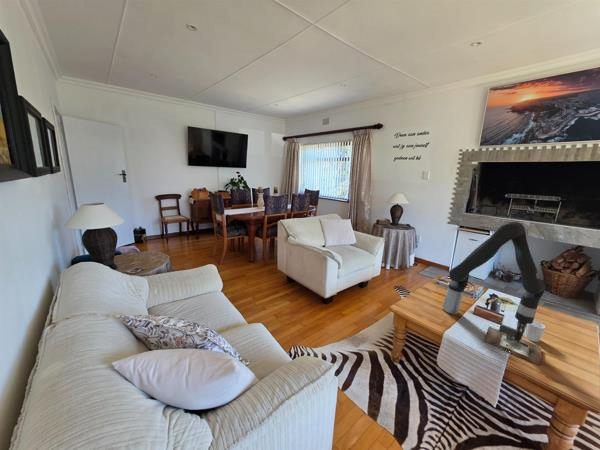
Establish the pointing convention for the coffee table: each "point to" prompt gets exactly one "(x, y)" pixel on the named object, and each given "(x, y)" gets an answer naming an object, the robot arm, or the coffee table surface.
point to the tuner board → (514, 346)
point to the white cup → (534, 331)
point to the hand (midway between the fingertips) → (517, 338)
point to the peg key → (510, 333)
